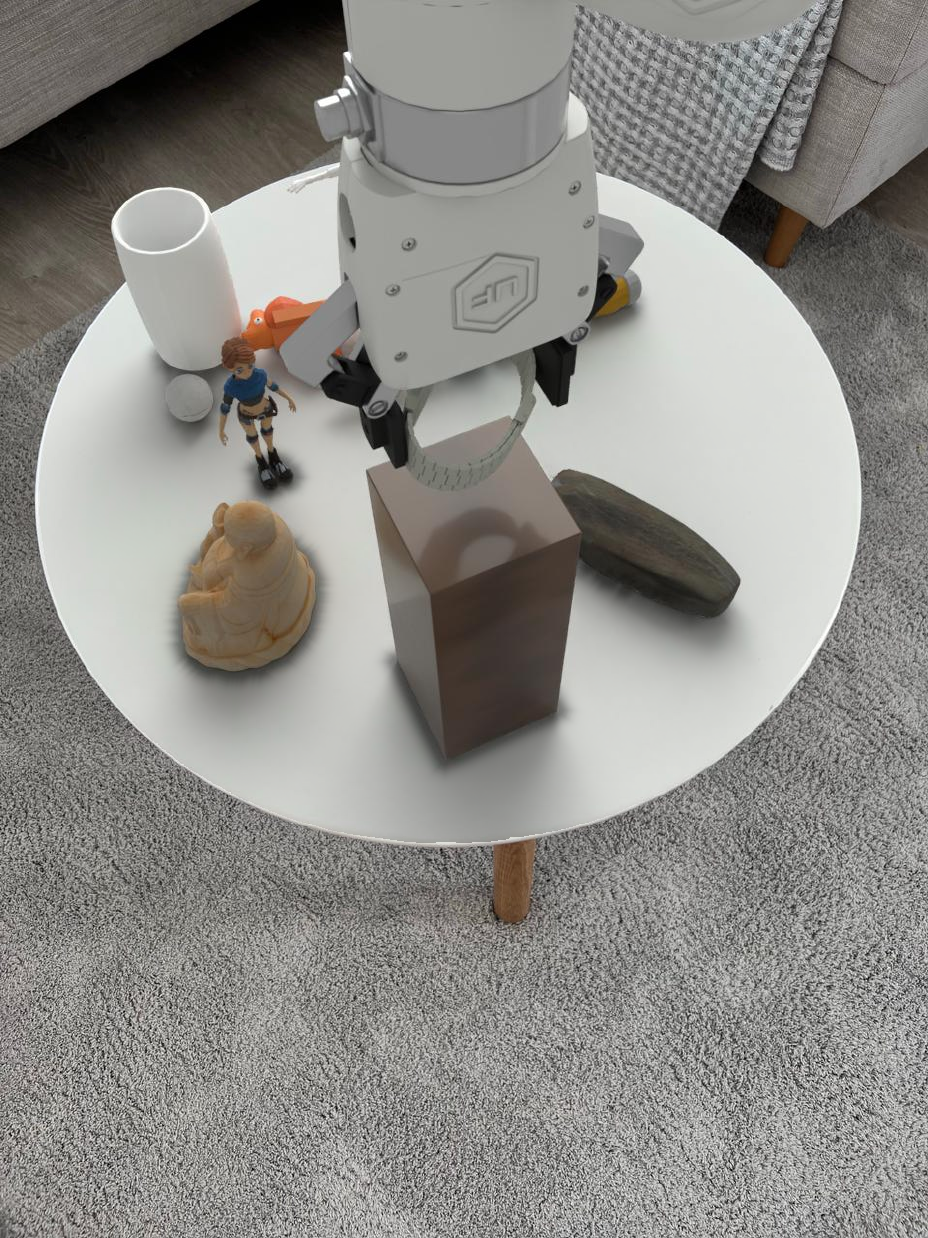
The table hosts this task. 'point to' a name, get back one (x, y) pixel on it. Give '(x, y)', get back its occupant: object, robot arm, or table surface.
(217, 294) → the cup
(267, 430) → the figurine
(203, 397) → the light grey ball
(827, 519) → the table surface
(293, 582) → the statue
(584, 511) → the decorative stone
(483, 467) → the wristwatch
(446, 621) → the stand
